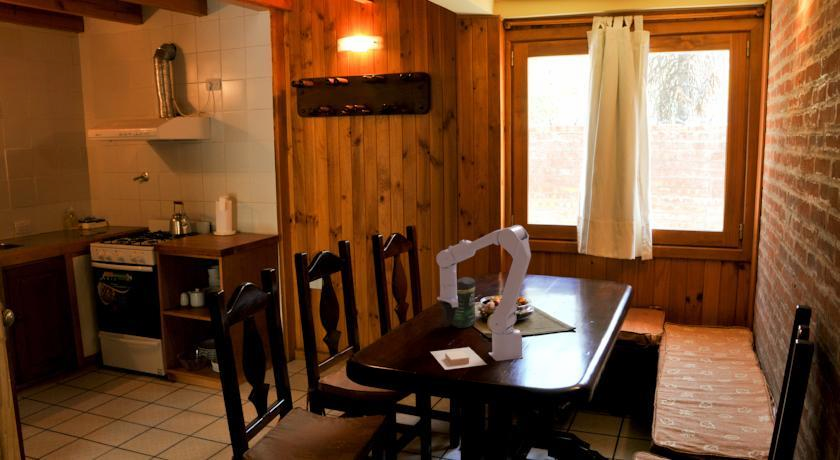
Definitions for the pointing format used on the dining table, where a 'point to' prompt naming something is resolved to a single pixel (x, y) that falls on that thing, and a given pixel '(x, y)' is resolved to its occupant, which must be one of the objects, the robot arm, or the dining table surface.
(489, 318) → the lemon
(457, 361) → the tile
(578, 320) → the dining table surface
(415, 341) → the dining table surface
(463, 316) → the coffee jar
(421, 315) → the dining table surface
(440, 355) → the mat
